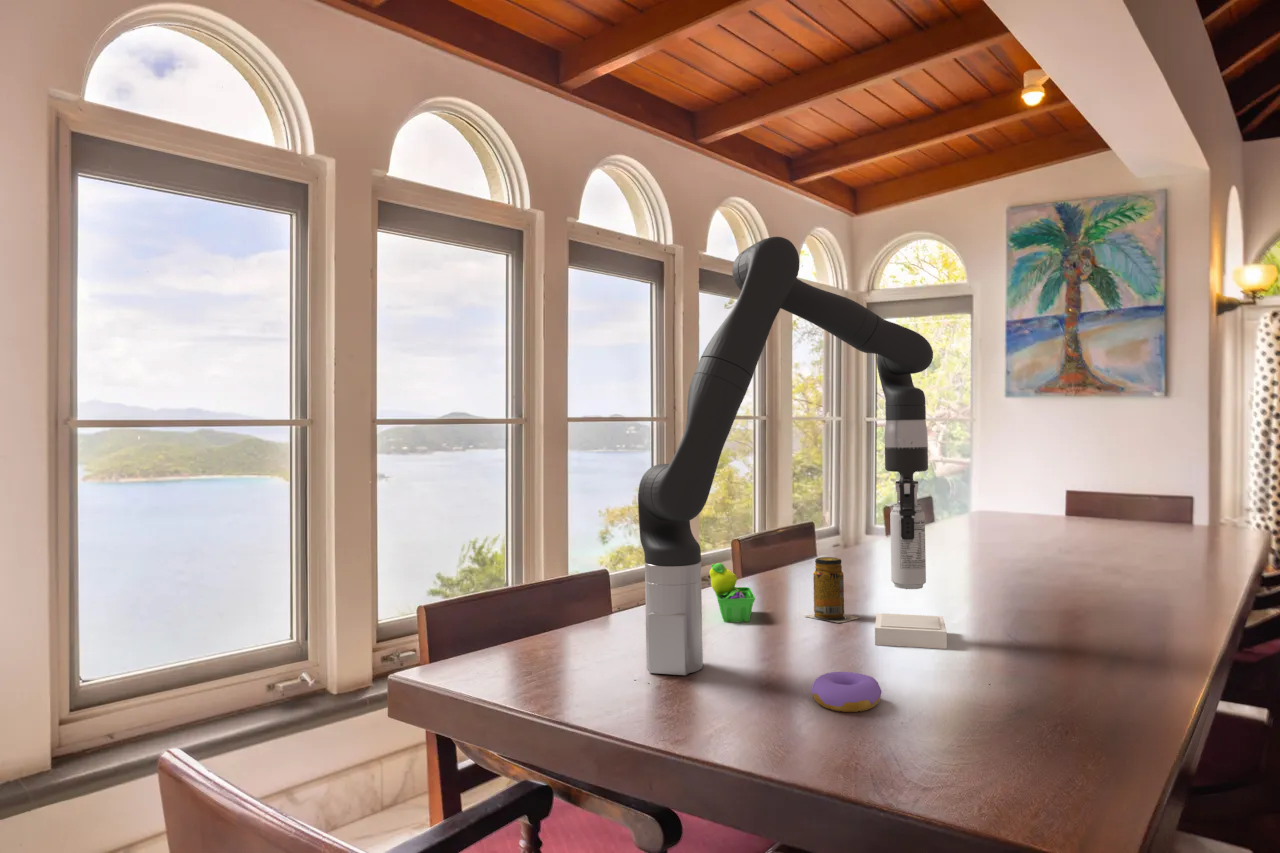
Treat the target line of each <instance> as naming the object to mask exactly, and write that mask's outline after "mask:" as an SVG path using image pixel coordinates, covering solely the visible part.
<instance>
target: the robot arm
mask: <svg viewBox="0 0 1280 853" xmlns="http://www.w3.org/2000/svg"><path fill="white" fill-rule="evenodd" d="M799 272H800V256H799V252H798V250H797V248H796V246H795V244H794V243H793V242H792V241H791V240H789V239H787V238H785V237H782V236H770V237H767V238H763V239H762V240H758V241H757V242H755V243H754V244H752V245H751V246H749V247H747V248H746V249H744V250H743V251H741V252H740V253H739V254H738V255H737V256H736V258H735V260H734V261H733V264H732V272H731V273H732V278H733V281H734V283H735V285H736V286H737V288H738V290H740V293H739V296H738V298H737V300H736V302H735V303H734V304H735V305H734V306H733V308H732V309H731V311H730V313H729V314H728V315H727V317H726V318H725V319H724V320H723V322H722V323H721V324H720V326H719V328H717V330H716V331H715V333H713V336H712V337H711V339H710V340H709V342H708V343H707V345H706V346H705V348H704V350H703V352H702V354H701V356H700V359H699V362H698V363H697V365H696V368H695V371H694V373H693V376H692V378H691V381H690V385H689V389H688V396H687V407H686V408H687V412H686V413H687V414H686V421H685V422H686V424H685V427H684V428H685V429H684V431H683V435H682V437H681V440H680V442H679V445H678V447H677V448H676V451H675V453H674V455H673V456H672V459H671V460H670V463H660V464H655V465H653V466H651V467H650V468H649V469H647V470H646V471H645V472H644V474H643V475H642V477H641V479H640V482H639V484H638V491H637V492H638V493H637V508H638V523H639V525H638V526H639V539H640V544H641V547H642V550H643V554H644V589H645V591H644V596H645V600H644V601H645V651H646V654H645V655H646V658H645V659H646V668H647V669H648V673H649V674H662V675H673V676H676V675H677V676H687V675H688V674H690V673H695V672H698V671H700V670H701V669H703V666H704V664H703V662H704V661H703V658H704V657H703V656H704V655H703V654H704V653H703V651H704V650H703V610H702V609H703V608H702V606H703V605H702V604H703V603H702V600H703V599H702V598H703V596H702V554H701V552H702V551H701V545H700V544H699V542H698V541H697V540H696V538H695V537H694V535H693V532H692V529H691V520H693V519H695V518H696V517H697V516H698V515H699V514H700V513H701V512H702V511H703V510H704V507H705V506H706V503H707V501H708V498H709V497H710V496H709V495H710V492H711V490H712V486H713V482H714V478H715V475H716V472H717V468H718V466H719V462H720V457H721V455H722V452H723V449H724V446H725V444H726V442H727V439H728V437H729V434H730V432H731V429H732V427H733V424H734V423H735V420H736V417H737V414H738V412H739V410H740V408H741V405H742V403H743V401H744V399H745V396H746V393H747V391H748V389H749V387H750V384H751V381H752V379H753V376H754V373H755V371H756V368H757V366H758V362H759V360H760V357H761V355H762V353H763V350H764V348H765V346H766V343H767V340H768V337H769V334H770V332H771V329H772V327H773V324H774V322H775V320H776V318H777V315H778V314H779V312H780V310H781V309H782V310H783V311H785V312H788V313H790V314H793V315H795V316H797V317H799V318H801V319H802V320H805V321H807V322H809V323H811V324H813V325H815V326H817V327H819V328H820V329H822V330H824V331H826V332H828V333H829V334H831V335H833V336H834V337H836V338H837V339H839V340H841V341H842V342H844V343H845V344H848V345H849V346H851V347H852V348H854V349H856V350H857V351H858V352H862V353H865V354H874V355H875V354H876V355H877V356H876V368H877V373H878V376H879V381H880V384H881V389H882V392H883V394H884V398H885V399H884V400H885V408H884V409H885V426H884V469H885V470H886V472H891V473H892V472H894V473H895V472H897V473H899V476H900V477H899V480H895V481H894V482H895V492H896V498H897V499H896V504H897V505H898V506H899V507H900V511H899V515H900V518H901V537H902V539H904V540H913V539H914V519H915V514H916V512H915V507H916V506H917V504H918V491H919V481H918V480H914V474H915V473H917V472H926V471H928V470H929V450H928V449H929V444H928V442H929V440H928V439H929V438H928V436H929V434H928V428H927V419H926V418H927V415H926V414H927V412H926V410H927V409H926V396H925V395H926V394H925V392H924V390H922V389H920V388H918V387H915V385H914V382H913V378H912V377H913V376H912V375H913V374H919V373H921V372H923V371H926V370H927V369H928V368H929V367H930V366H931V364H932V362H933V359H934V351H933V348H932V345H931V343H930V342H929V341H928V340H927V339H926V338H925V337H924V336H923V335H921V334H920V333H918V332H916V331H915V330H913V329H911V328H909V327H905V326H903V325H900V324H897V323H895V322H892V321H889V320H886V319H884V318H882V317H881V316H879V315H878V314H876V313H875V312H873V311H871V310H870V309H868V308H867V307H865V306H864V305H862V304H860V303H858V302H857V301H855V300H853V299H851V298H848V297H846V296H843V295H839V294H837V293H834V292H832V291H831V292H830V291H827V290H824V289H821V288H818V287H815V286H813V285H810V284H808V283H806V282H804V281H802V280H801V279H799V278H798V274H799ZM903 507H911V508H912V509H903ZM912 518H913V519H912Z"/></svg>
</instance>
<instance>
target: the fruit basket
mask: <svg viewBox="0 0 1280 853" xmlns="http://www.w3.org/2000/svg"><path fill="white" fill-rule="evenodd" d="M710 566H711V568H710V570H709V572H708V573H709V574H708V575H709V577H710V585H711V588H712V590H713V591H714V593H715V596H716V599H717V604H718V607H719V612H720V614H721V618H722V620H723V621H722V622H724V623H742V622H744V623H749V622H750V620H751V615H752V611H753V607H754V606H753V605H754V603H755V600H756V597H755V595H754V593H753V591H752V589H751V587H746V586H743V587H741V586H739V587H737V586H736V584H737V581H738V577H737V575H736V574H735V573H734V572H732V570H730V569H728V568H726V566H725V565H724V564H723V563H722V562H717V563H715V564H714V563H712V564H711V565H710Z"/></svg>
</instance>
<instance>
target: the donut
mask: <svg viewBox="0 0 1280 853" xmlns="http://www.w3.org/2000/svg"><path fill="white" fill-rule="evenodd" d="M811 693H812V696H813V699H814V700H815V701H816V703H818V705H820V707H823V708H825V709H827V710H830V709H831V711H834V710H835V711H834V712H840V711H842V712H841V713H859V712H858V711H860V712H864V711H868V709H869V710H871V709H872V708H874V707H876V705H877V704H879V703H880V701H881V697H882V688H881V686H880V684H879V682H878V681H877V680H876V678H874V677H873V676H870V675H867V674H862V673H859V672H851V671H831V672H827V673H824V674H821V675H819V676H818V677H817V678H815V680H814V681H813V683H812V686H811Z"/></svg>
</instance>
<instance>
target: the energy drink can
mask: <svg viewBox="0 0 1280 853" xmlns="http://www.w3.org/2000/svg"><path fill="white" fill-rule="evenodd" d="M903 509H912V508H911V507H903ZM899 511H900V507H899V506H898V505H897V503H894V504H893V508H892V510H891V511H890V515H889V517H890V519H889V520H890V522H889V523H890V526H889V527H890V578H891V579H890V581H891V582H892V583H893V585H894V587H895V588H898V589H904V590H920V589H921V590H922V589H923V588H924V584H926V583H927V569H926V568H927V566H926V564H927V562H926V561H927V560H926V559H927V558H926V555H927V554H926V515H925V512H924V511H923V509H922V504H920V503H917V506H916V507H915V512H916V514H915V519H914V539H913V540H904V539H902V537H901V518H900V515H899ZM912 519H913V518H912Z"/></svg>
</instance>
